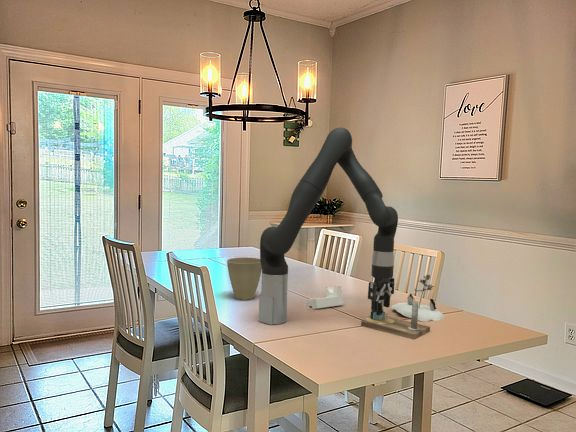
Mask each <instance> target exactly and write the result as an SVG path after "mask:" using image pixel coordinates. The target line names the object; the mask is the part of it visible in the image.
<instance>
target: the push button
mask: <svg viewBox="0 0 576 432" xmlns="http://www.w3.org/2000/svg"><path fill="white" fill-rule="evenodd" d="M371 295H372V293H371ZM376 296H377V295H376ZM386 296H387V294H385V293H384V292H383V293H382V295H381V296H380V297H379V299H378V311H377V312H374V311H370V316H371V319H373V320H382V319H385V317H389V316H387V315H388V313H386V311H384V306H383V305H384V300H385V299H386Z"/></svg>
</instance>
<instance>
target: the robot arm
mask: <svg viewBox="0 0 576 432" xmlns="http://www.w3.org/2000/svg"><path fill="white" fill-rule="evenodd" d="M337 164H338V165H339V166H340V168H341V169H342V170H343V171H344V173H345V174H346V176H347V177H348V179H349V181H350V182H351V183H352V185H353V187H354V189H355V191H356V192H357V193H358V195H359V197H360V198H361V200H362V201H363V203H364V205H365V207H366V210H367V214H368V215H369V218H370V220H371V221H372V223H373V224H374V225H375V226H376V227H378V230H377V233H376V234H375V235H374V237H373V246H372V247H373V249H372V257H371V274H370V275H371V277H373V278H374V280H373V282H371V281H369V282H368V290H367V300H370V301H371V303H370V304H371V307H370V310H371V311H374V312H377V311H378V299H379V297H380V296H381V295H382V293H383V292H384V293H385V294H387V296H386V299H385V300H384V305H383V308H384V307H385V308H390V306H391V298H392V295H394V294H395V278H394V267H395V265H394V264H395V253H394V249H395V236H396V234H397V233H396V232H397V228H398V225H399V224H398V223H399V215H398V211H397V210H396V209H395V208H394V207H392V206H386V204H385V203H384V200H383V197H384V196H383V192H382V191H381V189H380V188H379V186H378V184H377V182H376V181H375V180H374V178H373V177H372V176H371V175H370V173H369V172H368V171H367V170H366V169H365V168H364V167H363V166H362V164H360V162H359V160H358V158H357V157H356V155H355V151H354V150H353V137H352V134H351V132H350V131H349V130H348V129H347V128H345V127H336V128H334V129H332V130H331V131H330V132H329V133H327V136H326V139H325V140H324V143H323V144H322V147H321V148H320V150H319V152H318V154H317V156H316V157H315V159H314V161H312V163H311V164H310V166H309V167H308V169H306V171H305V172H304V174H303V176H302V177H301V178H300V180H299V181H298V183H297V184H296V186H295V188H294V190H293V192H292V194H291V198H290V201H289V205H288V209H287V211H286V213H285V216H283V218H282V220H281V222H279V224H278V226H270V227H269V226H268V227H266V229H264V230H263V231H262V234H261V236H260V241H259V242H260V243H259V259H260V263H261V266H262V271H261V286H260V287H261V291H260V294H259V295H258V322H260V323H263V324H266V325H271V326H272V325H281V324H285V323H286V322H287V319H288V318H287V317H288V316H287V314H288V289H289V288H288V285H289V284H288V283H289V282H288V280H289V265H288V264H287V261H286V259H285V255H286V254H287V253H288V252H289V251H290V250H291V248H292V247H293V246H294V243H295V241H296V239H297V236H298V234H299V232H300V231H301V229H302V227H303V225H304V224H305V222H306V221H307V219H308V217H309V215H310V214H311V212H313V211H312V210H313V209H314V208H315V206H316V204H317V203H318V201H320V199H321V197H322V196H323V194H324V191H325V190H326V188H327V186H328V183H329V181H330V179H331V175H332V173H333V170H334V169H335V167H336V166H337ZM371 294H372V295H371ZM376 295H377V296H376ZM371 311H370V312H371Z"/></svg>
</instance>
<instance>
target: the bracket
mask: <svg viewBox="0 0 576 432" xmlns="http://www.w3.org/2000/svg"><path fill="white" fill-rule="evenodd" d="M325 290H326V291H325V292H326V296H324V297H317V298H309V299H308V298H307V299H306V300H305V302H306V306H307V307H311V309H323V308H329V307H330V308H331V307H335V306H344V305H345V304H344V296H343V295H344V294H343V287H342V285H336V286H334V287H333V286H326V287H325Z"/></svg>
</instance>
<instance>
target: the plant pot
mask: <svg viewBox="0 0 576 432" xmlns="http://www.w3.org/2000/svg"><path fill="white" fill-rule="evenodd" d="M226 264H227V265H226V266H227V271H228V272H227V273H228V277H229V281H230V285H231V288H232V292H233V295H234V297H235V299H236V298H237V299H236V300H239V299H241V300H240V301H249V299H250V300H252V299H254V297H255V295H256V292H257V289H258V286H259V282H260V279H261V276H262V266H261V263H260V258H257V257H248V256H247V257H245V256H244V257H243V256H241V257H231V258H227V260H226Z"/></svg>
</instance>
